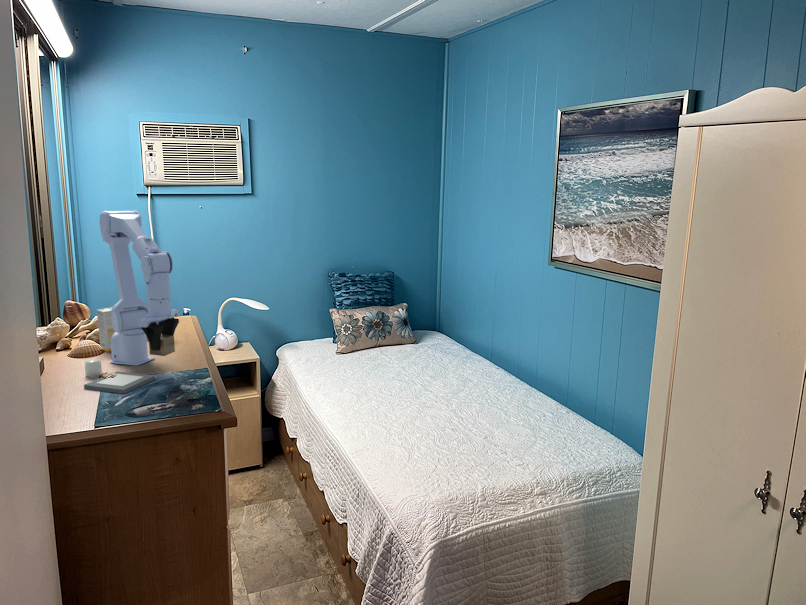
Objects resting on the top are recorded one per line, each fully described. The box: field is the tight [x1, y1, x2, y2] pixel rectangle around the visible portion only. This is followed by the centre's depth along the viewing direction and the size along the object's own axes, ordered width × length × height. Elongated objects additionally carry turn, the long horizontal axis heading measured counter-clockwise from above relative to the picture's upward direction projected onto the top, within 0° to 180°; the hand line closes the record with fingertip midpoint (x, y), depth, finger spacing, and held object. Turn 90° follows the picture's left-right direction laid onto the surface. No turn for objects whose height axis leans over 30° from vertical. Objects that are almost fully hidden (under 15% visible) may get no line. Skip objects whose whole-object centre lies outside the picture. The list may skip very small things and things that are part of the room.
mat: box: [83, 371, 156, 394], centre depth 157 cm, size 12×12×1 cm
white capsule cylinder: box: [84, 358, 103, 378], centre depth 164 cm, size 4×4×4 cm
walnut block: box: [148, 333, 176, 357], centre depth 161 cm, size 4×4×4 cm
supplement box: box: [96, 306, 130, 353], centre depth 189 cm, size 8×5×13 cm, turn 140°
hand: (161, 347), depth 161 cm, fingers closed on walnut block, 4 cm apart
